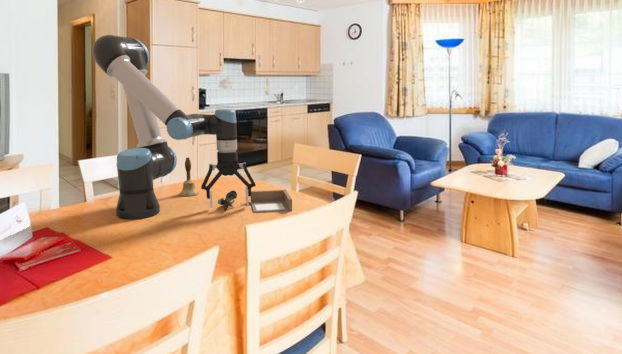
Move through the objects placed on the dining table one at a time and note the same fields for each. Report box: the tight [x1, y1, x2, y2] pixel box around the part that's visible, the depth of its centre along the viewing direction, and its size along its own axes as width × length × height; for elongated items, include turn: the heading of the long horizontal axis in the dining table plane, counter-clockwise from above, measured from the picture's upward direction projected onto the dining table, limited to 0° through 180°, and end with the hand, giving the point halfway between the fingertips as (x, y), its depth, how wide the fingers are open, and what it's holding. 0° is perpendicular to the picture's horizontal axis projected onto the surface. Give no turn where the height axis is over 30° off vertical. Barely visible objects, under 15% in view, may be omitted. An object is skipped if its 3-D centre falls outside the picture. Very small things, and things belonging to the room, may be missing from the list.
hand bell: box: [179, 157, 200, 197], centre depth 187 cm, size 8×8×16 cm
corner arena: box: [250, 189, 293, 214], centre depth 171 cm, size 14×15×4 cm
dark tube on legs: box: [217, 190, 238, 212], centre depth 168 cm, size 8×7×9 cm
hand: (229, 205), depth 167 cm, fingers open, 13 cm apart
